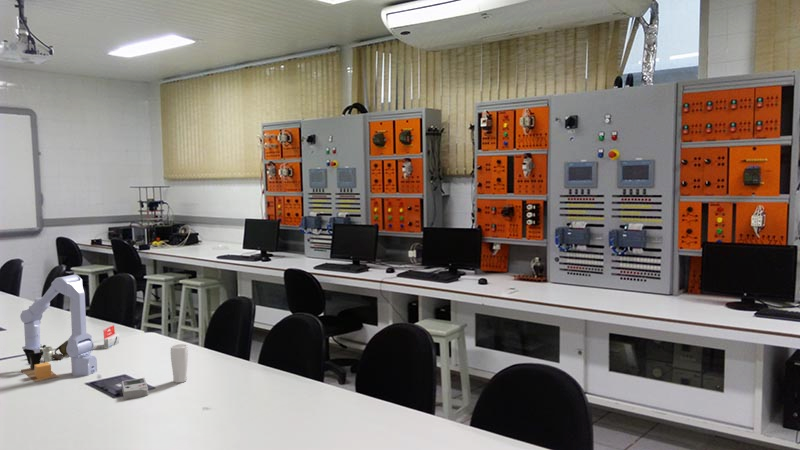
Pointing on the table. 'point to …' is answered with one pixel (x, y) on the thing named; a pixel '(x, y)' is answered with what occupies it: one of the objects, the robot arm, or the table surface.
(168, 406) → the table surface
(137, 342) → the table surface
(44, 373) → the cube
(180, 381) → the drinking glass
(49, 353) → the valve
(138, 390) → the handheld gaming device
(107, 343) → the ink cartridge box
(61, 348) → the brown rounded piece
